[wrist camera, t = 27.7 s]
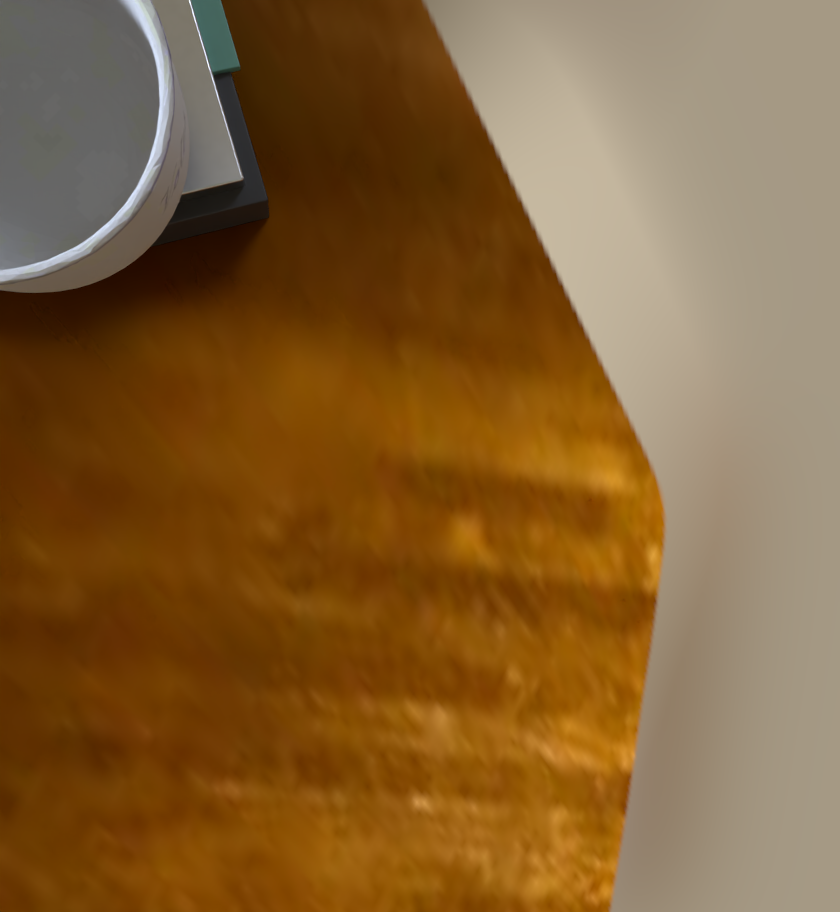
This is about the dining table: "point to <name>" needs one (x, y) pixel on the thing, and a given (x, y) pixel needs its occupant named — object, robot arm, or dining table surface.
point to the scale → (210, 124)
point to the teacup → (85, 140)
